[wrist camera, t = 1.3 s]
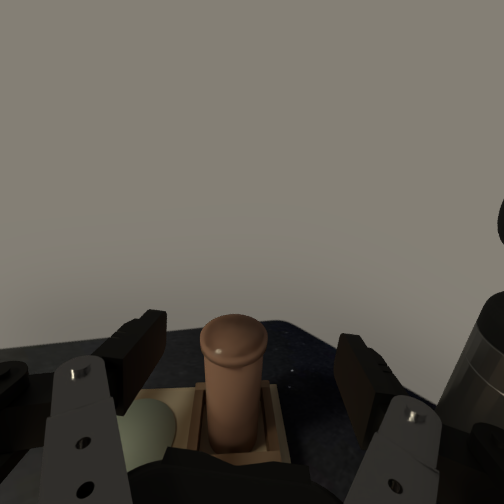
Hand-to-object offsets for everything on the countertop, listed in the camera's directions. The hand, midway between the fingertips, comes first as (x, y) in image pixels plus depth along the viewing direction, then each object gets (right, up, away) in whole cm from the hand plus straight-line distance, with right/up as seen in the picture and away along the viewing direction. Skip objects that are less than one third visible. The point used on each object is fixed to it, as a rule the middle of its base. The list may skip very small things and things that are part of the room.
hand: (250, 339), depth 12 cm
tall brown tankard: (-2, -17, +18) cm, 24 cm away
